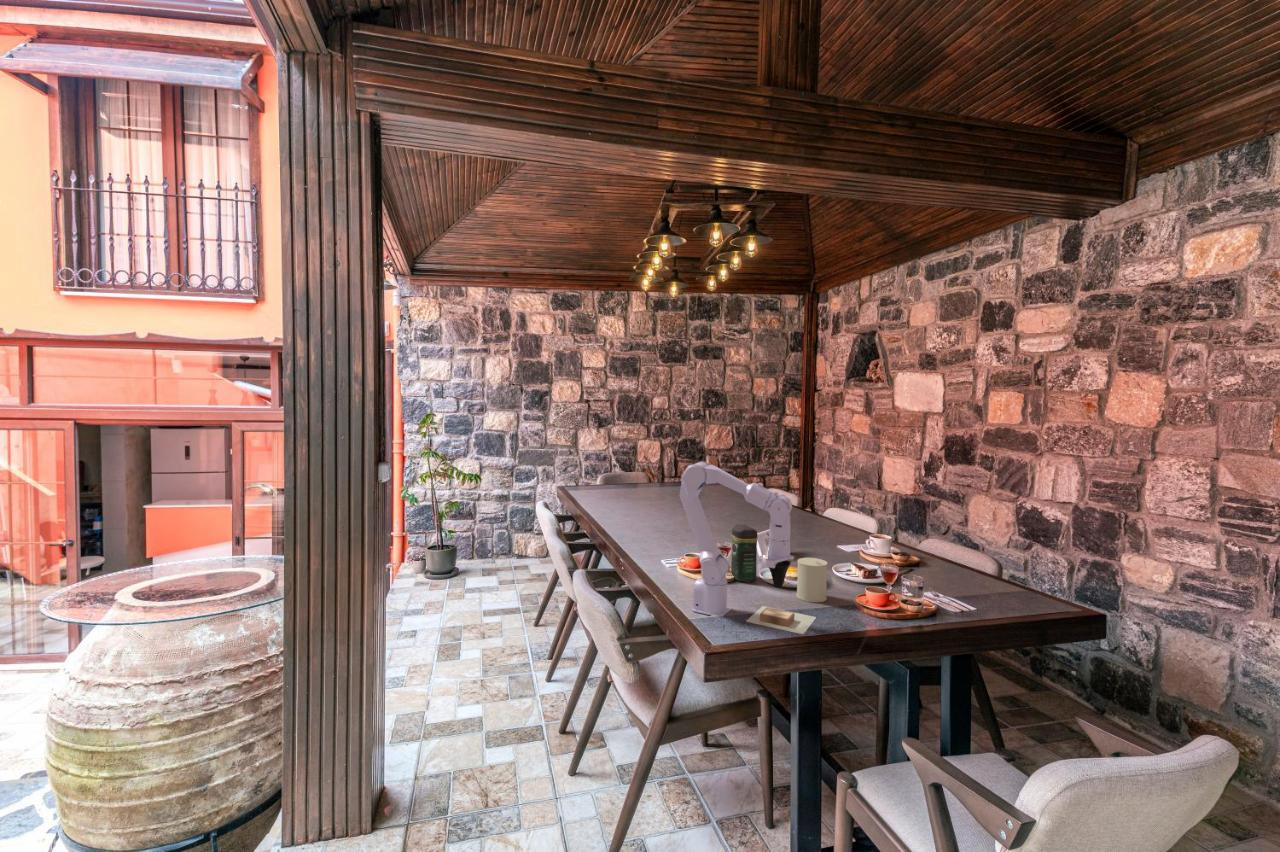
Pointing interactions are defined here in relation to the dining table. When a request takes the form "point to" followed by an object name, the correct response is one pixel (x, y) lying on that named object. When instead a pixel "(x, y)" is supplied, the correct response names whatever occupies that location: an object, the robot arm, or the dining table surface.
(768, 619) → the walnut slab
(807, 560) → the can
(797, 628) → the mat
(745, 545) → the coffee jar
